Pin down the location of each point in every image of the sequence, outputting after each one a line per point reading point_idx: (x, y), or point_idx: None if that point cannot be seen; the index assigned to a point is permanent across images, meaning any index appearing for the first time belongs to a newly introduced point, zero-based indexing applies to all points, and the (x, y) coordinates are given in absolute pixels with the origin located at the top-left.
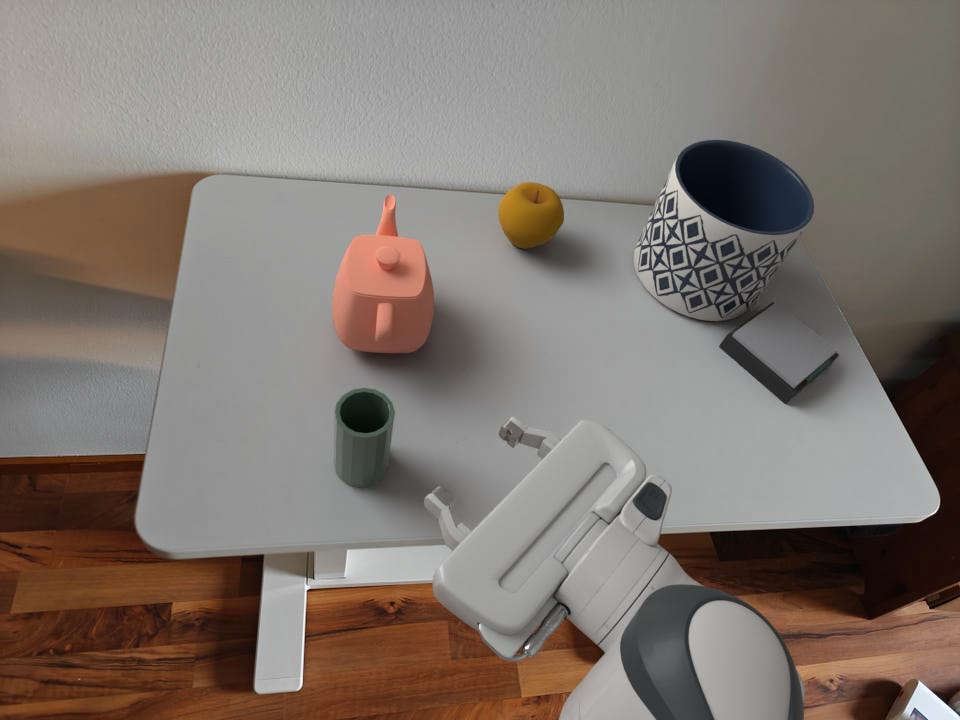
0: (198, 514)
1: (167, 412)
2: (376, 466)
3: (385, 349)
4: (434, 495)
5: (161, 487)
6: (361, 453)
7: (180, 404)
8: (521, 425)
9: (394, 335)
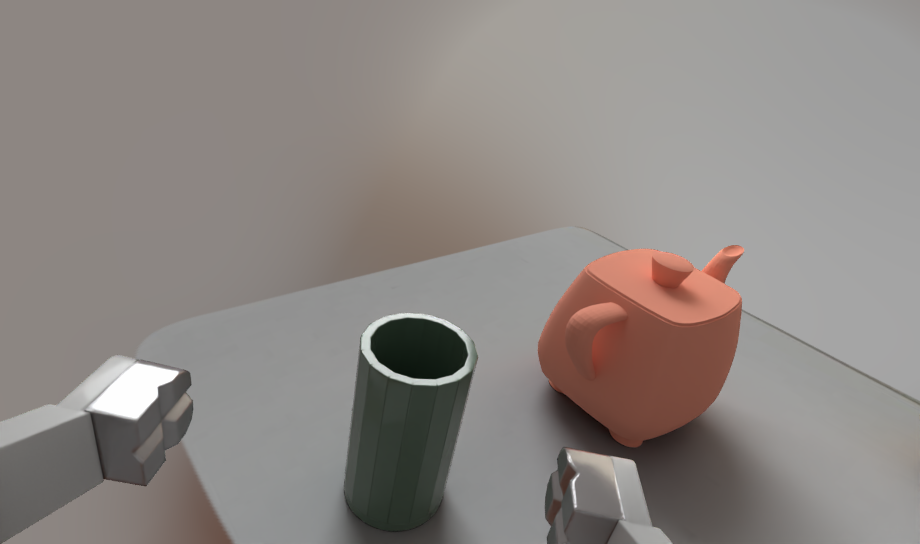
0: (196, 360)
1: (320, 289)
2: (378, 477)
3: (581, 395)
4: (130, 366)
5: (219, 319)
6: (361, 410)
7: (337, 293)
8: (634, 498)
9: (604, 373)
